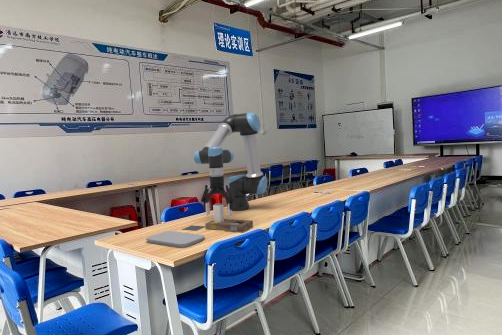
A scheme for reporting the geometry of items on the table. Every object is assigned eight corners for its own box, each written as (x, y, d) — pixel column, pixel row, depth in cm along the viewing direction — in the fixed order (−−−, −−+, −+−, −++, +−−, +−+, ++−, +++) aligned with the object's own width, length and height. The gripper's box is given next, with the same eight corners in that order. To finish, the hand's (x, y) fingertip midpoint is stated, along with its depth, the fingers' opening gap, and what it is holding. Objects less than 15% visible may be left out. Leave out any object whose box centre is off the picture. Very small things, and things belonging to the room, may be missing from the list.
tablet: (168, 234, 181) (168, 230, 181) (207, 240, 167) (207, 235, 167) (143, 243, 167) (143, 238, 167) (183, 249, 153) (183, 244, 153)
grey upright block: (214, 227, 188) (213, 204, 187) (218, 225, 191) (216, 203, 191) (220, 228, 186) (219, 204, 185) (224, 226, 190) (223, 203, 189)
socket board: (217, 224, 196) (216, 218, 196) (252, 227, 187) (252, 220, 187) (205, 230, 185) (205, 223, 185) (242, 232, 176) (242, 225, 176)
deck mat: (191, 226, 196) (191, 225, 196) (206, 227, 192) (206, 226, 192) (180, 230, 187) (180, 229, 187) (196, 231, 183) (196, 230, 183)
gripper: (193, 176, 189) (195, 215, 190) (234, 176, 178) (236, 217, 180) (200, 175, 196) (203, 212, 197) (240, 174, 185) (242, 214, 186)
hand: (218, 215), depth 188 cm, fingers open, 13 cm apart
